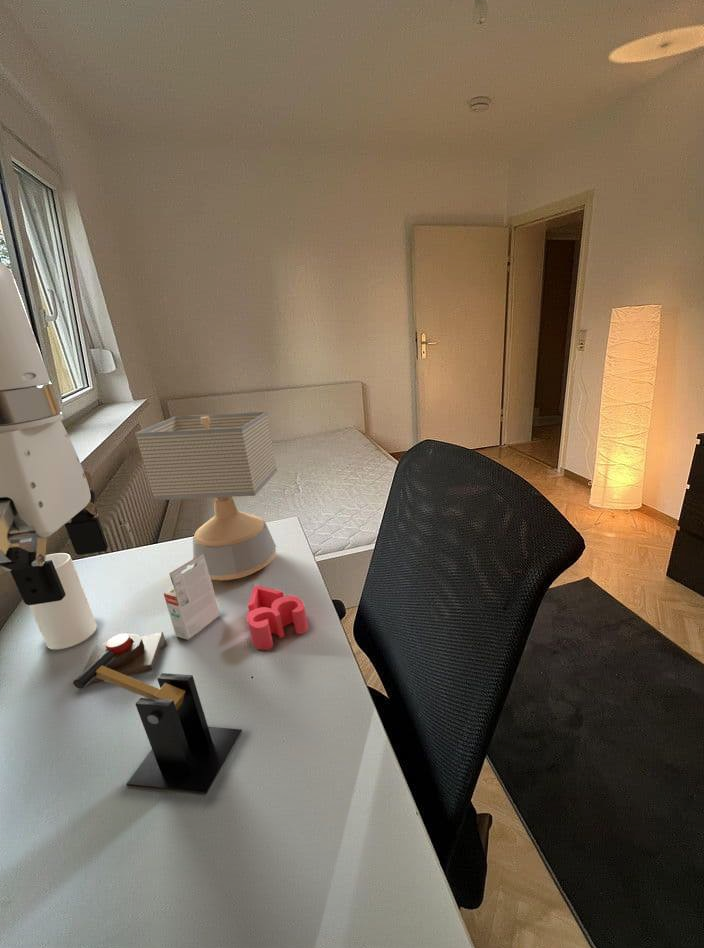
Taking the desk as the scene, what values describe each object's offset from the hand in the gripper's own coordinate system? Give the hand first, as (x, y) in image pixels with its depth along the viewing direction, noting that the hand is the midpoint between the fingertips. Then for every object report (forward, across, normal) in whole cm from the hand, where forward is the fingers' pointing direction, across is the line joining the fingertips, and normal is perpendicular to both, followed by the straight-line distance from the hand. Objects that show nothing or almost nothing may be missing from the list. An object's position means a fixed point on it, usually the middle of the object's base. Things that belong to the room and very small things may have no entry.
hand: (72, 574), depth 46 cm
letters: (+32, -30, +13) cm, 45 cm away
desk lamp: (+31, -55, +3) cm, 63 cm away
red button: (+28, -25, -12) cm, 39 cm away
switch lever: (+19, -4, -1) cm, 20 cm away
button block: (+31, -25, -12) cm, 42 cm away
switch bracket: (+31, -2, +4) cm, 32 cm away
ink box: (+31, -33, -1) cm, 45 cm away
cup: (+31, -37, -26) cm, 55 cm away
